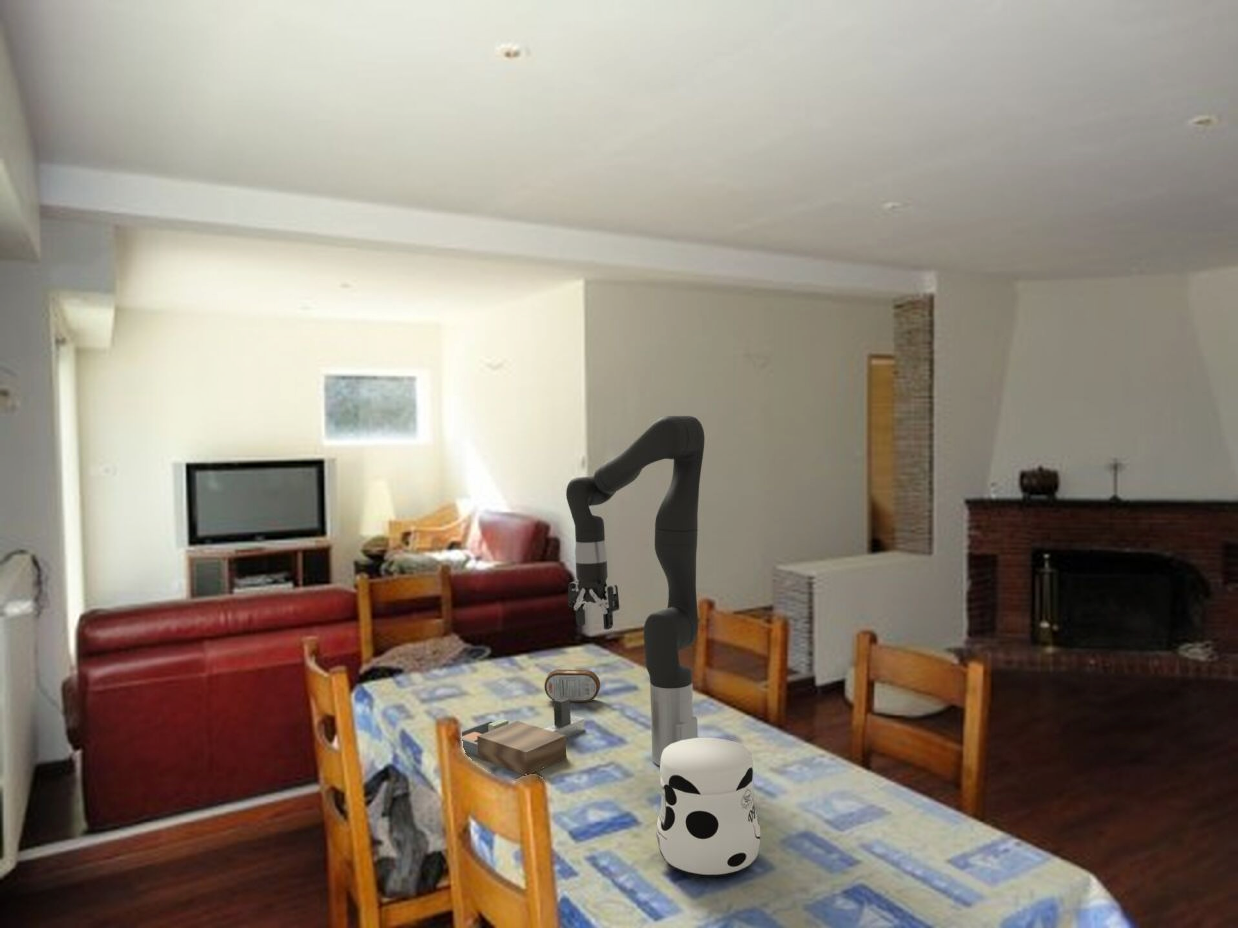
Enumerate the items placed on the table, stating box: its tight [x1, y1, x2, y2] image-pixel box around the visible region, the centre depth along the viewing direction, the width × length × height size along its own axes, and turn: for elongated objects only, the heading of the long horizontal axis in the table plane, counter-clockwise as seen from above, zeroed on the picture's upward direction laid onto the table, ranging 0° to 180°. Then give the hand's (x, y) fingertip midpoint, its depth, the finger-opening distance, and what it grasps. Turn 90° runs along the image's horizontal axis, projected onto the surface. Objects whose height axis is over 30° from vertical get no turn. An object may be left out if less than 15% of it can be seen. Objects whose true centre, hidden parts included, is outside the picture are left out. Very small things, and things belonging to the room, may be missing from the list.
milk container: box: [656, 737, 761, 878], centre depth 139 cm, size 17×17×18 cm
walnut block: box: [477, 720, 568, 776], centre depth 186 cm, size 16×12×5 cm
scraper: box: [544, 697, 586, 739], centre depth 198 cm, size 3×12×9 cm, turn 139°
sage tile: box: [488, 718, 510, 732], centre depth 195 cm, size 4×4×2 cm
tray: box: [461, 719, 496, 759], centre depth 195 cm, size 10×12×3 cm
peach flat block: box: [462, 732, 481, 743], centre depth 193 cm, size 4×4×2 cm
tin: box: [543, 669, 601, 703], centre depth 224 cm, size 15×3×8 cm, turn 84°
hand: (594, 626), depth 199 cm, fingers open, 8 cm apart
